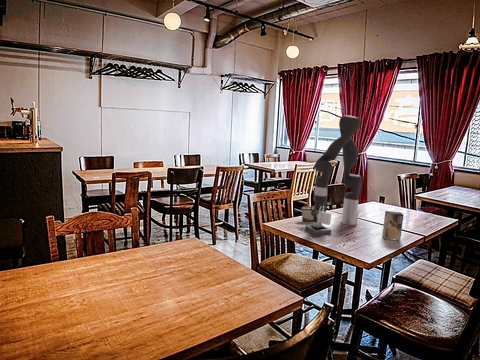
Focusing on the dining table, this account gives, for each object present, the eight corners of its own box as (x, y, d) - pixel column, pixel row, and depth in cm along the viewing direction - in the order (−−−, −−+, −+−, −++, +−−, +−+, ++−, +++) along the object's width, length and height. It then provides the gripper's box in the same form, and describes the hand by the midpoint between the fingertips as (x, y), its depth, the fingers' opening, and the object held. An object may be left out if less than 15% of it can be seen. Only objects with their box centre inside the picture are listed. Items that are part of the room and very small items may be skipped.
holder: (321, 227, 236) (322, 221, 235) (341, 237, 218) (342, 231, 217) (294, 228, 228) (295, 223, 228) (312, 239, 210) (313, 233, 210)
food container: (317, 221, 249) (319, 207, 247) (318, 224, 243) (320, 209, 241) (299, 219, 250) (300, 205, 248) (299, 222, 244) (301, 207, 242)
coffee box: (397, 237, 225) (401, 212, 222) (400, 241, 218) (404, 214, 216) (381, 236, 226) (385, 210, 223) (384, 239, 219) (387, 213, 217)
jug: (311, 225, 223) (312, 209, 221) (315, 224, 227) (317, 208, 225) (326, 230, 216) (328, 213, 214) (331, 229, 219) (332, 212, 218)
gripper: (319, 196, 212) (316, 225, 215) (332, 194, 222) (329, 221, 225) (308, 194, 217) (305, 222, 220) (321, 191, 227) (319, 218, 230)
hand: (317, 221), depth 223 cm, fingers closed on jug, 5 cm apart
